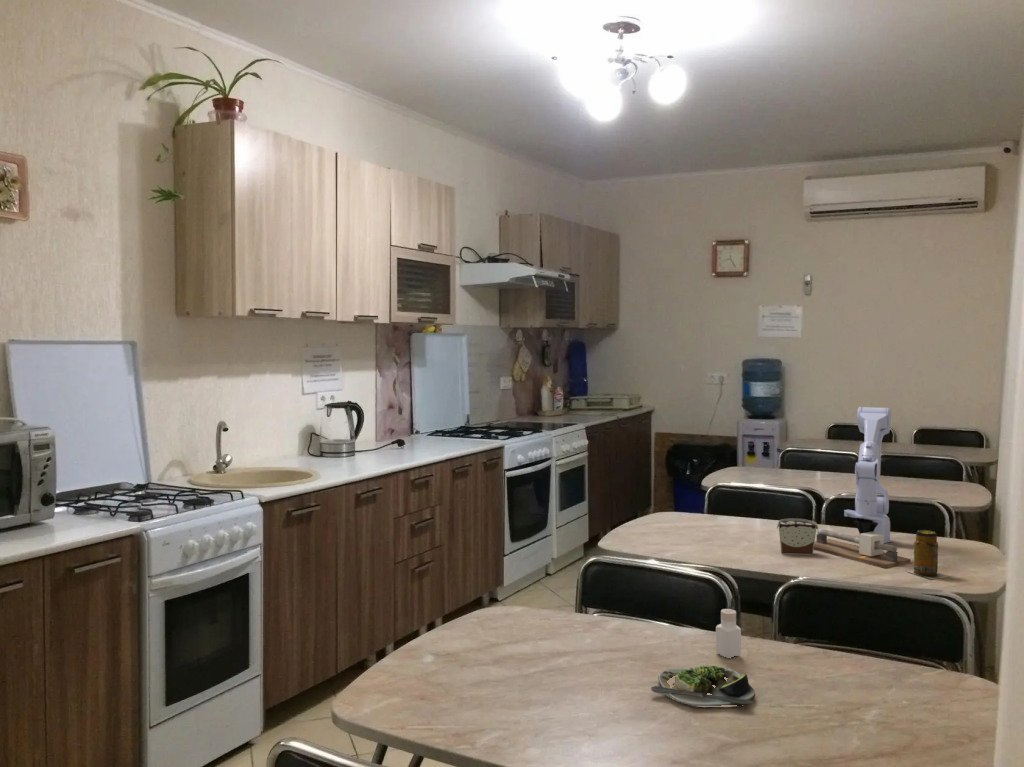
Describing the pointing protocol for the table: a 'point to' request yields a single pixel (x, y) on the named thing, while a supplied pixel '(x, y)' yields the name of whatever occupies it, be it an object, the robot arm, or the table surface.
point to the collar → (870, 543)
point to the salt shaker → (728, 635)
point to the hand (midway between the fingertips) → (865, 543)
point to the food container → (797, 536)
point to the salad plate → (706, 686)
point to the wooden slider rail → (857, 550)
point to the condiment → (926, 555)
